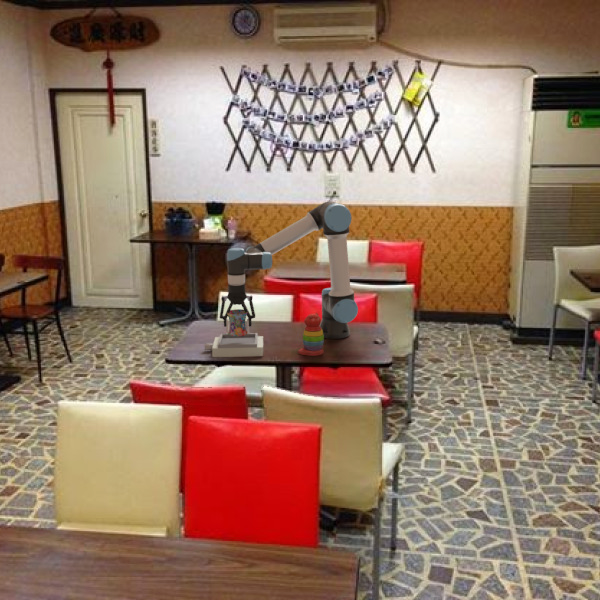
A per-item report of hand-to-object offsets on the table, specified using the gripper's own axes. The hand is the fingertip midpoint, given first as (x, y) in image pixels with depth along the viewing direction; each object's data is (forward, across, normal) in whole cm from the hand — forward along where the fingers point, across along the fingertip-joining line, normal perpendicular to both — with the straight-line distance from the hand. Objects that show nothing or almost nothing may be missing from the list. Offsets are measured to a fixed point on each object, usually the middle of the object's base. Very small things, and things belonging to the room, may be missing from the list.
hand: (238, 333), depth 298 cm
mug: (+1, 0, 0) cm, 1 cm away
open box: (+8, +2, 0) cm, 8 cm away
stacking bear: (+8, -33, +5) cm, 34 cm away
